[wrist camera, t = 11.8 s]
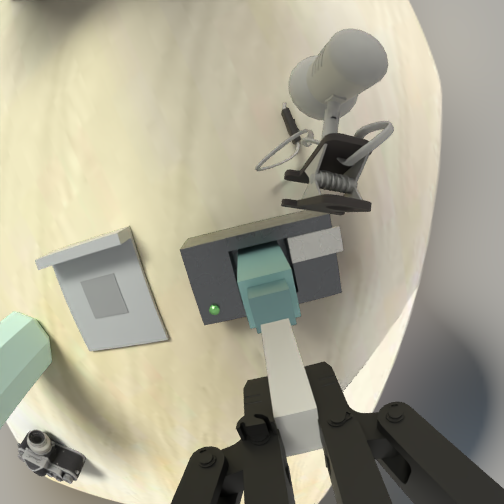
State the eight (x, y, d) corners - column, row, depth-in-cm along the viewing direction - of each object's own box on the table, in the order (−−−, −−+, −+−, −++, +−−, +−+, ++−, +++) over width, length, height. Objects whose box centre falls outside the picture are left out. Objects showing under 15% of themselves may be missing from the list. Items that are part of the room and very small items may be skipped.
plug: (237, 247, 31) (236, 293, 20) (275, 238, 31) (296, 278, 20) (247, 282, 32) (251, 342, 21) (283, 273, 32) (306, 329, 21)
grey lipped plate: (50, 251, 31) (34, 260, 27) (129, 225, 31) (117, 232, 27) (91, 348, 35) (80, 363, 31) (168, 337, 34) (162, 353, 31)
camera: (80, 441, 41) (63, 478, 31) (88, 462, 43) (75, 496, 33) (19, 414, 39) (-2, 444, 30) (30, 437, 41) (13, 466, 32)
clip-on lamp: (310, 200, 31) (393, 239, 13) (250, 191, 30) (265, 220, 13) (325, 93, 28) (412, 26, 10) (265, 82, 27) (296, -11, 10)
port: (187, 238, 31) (179, 250, 27) (323, 206, 31) (337, 212, 26) (208, 306, 33) (204, 326, 29) (335, 275, 33) (349, 291, 28)
